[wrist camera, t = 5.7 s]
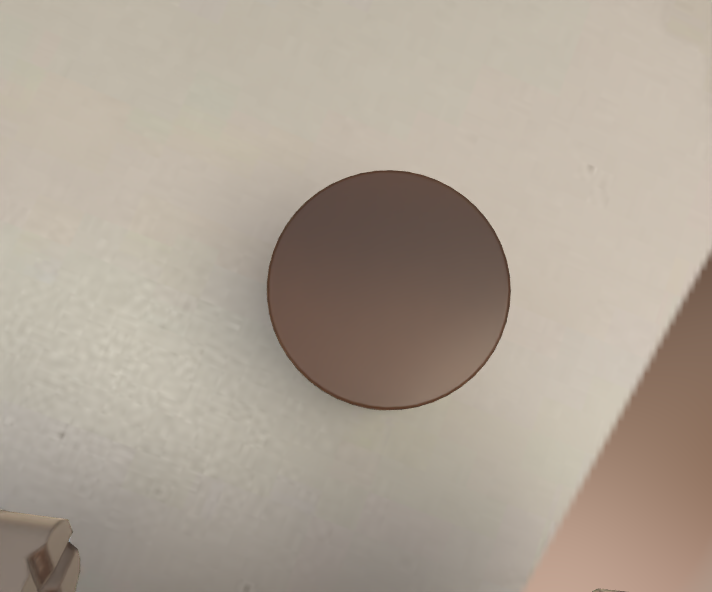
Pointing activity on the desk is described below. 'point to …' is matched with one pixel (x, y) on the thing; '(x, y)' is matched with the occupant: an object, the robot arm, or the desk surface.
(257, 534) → the desk surface
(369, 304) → the brown cylinder
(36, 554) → the robot arm
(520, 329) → the desk surface
